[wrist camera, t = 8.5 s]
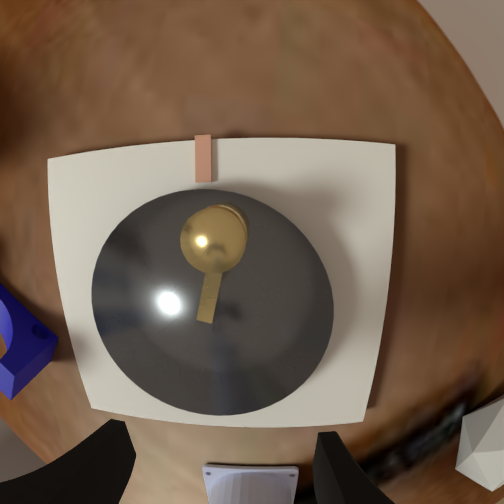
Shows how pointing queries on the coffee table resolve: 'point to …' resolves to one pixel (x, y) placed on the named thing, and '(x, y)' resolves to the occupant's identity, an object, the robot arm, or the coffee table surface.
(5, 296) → the cable clip
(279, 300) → the handwheel
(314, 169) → the wheel base
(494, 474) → the die
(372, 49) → the coffee table surface
